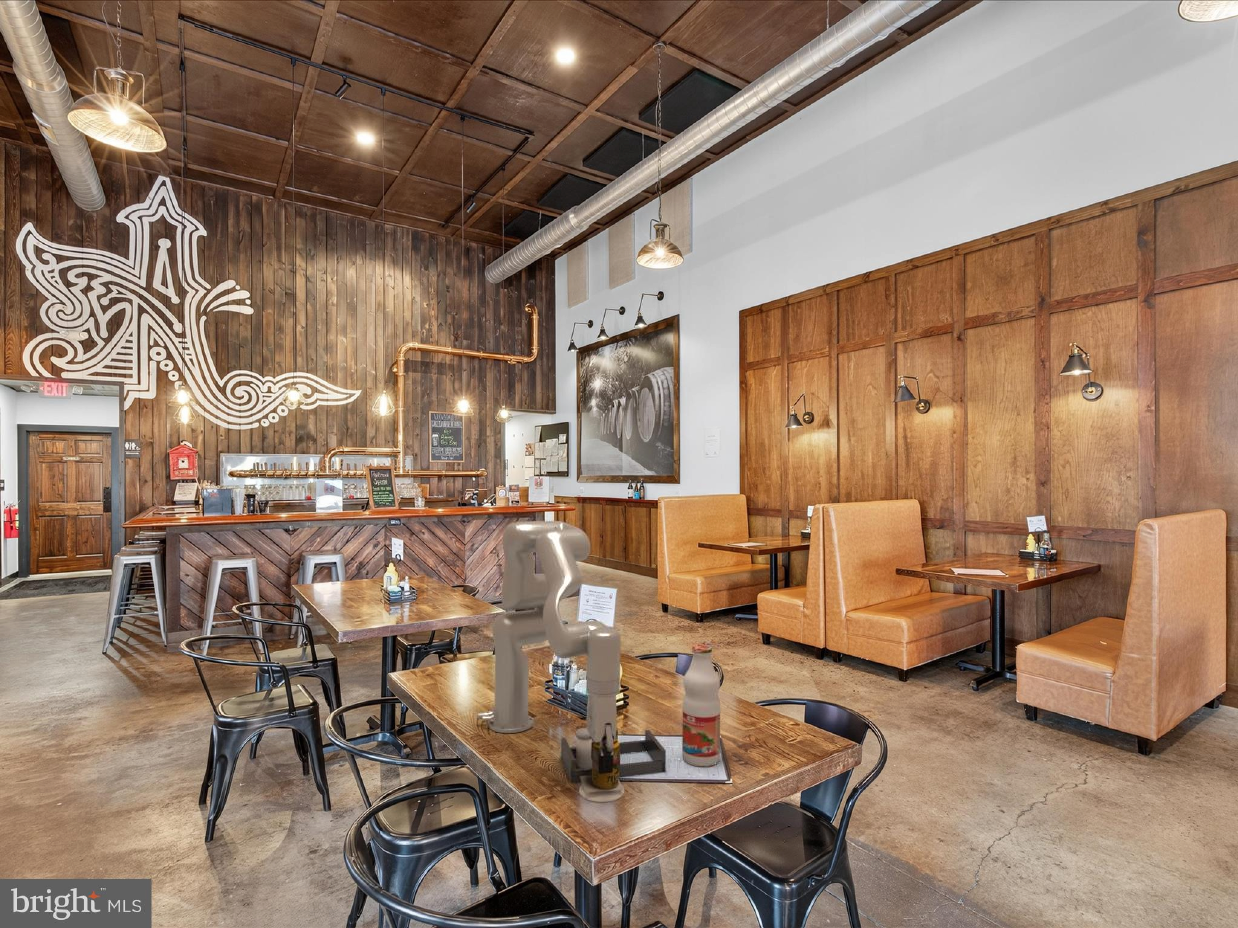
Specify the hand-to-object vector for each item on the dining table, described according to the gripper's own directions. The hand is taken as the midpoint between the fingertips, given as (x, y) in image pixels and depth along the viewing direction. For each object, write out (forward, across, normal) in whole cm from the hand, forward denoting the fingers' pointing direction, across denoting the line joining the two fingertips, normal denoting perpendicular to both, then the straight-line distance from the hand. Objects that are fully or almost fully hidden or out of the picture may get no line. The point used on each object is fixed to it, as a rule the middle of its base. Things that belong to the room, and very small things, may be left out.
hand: (601, 764), depth 140 cm
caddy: (+6, -12, +6) cm, 14 cm away
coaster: (+6, 0, 0) cm, 6 cm away
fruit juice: (+6, -10, +28) cm, 30 cm away
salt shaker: (+6, -14, -1) cm, 15 cm away
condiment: (+4, 0, 0) cm, 4 cm away
